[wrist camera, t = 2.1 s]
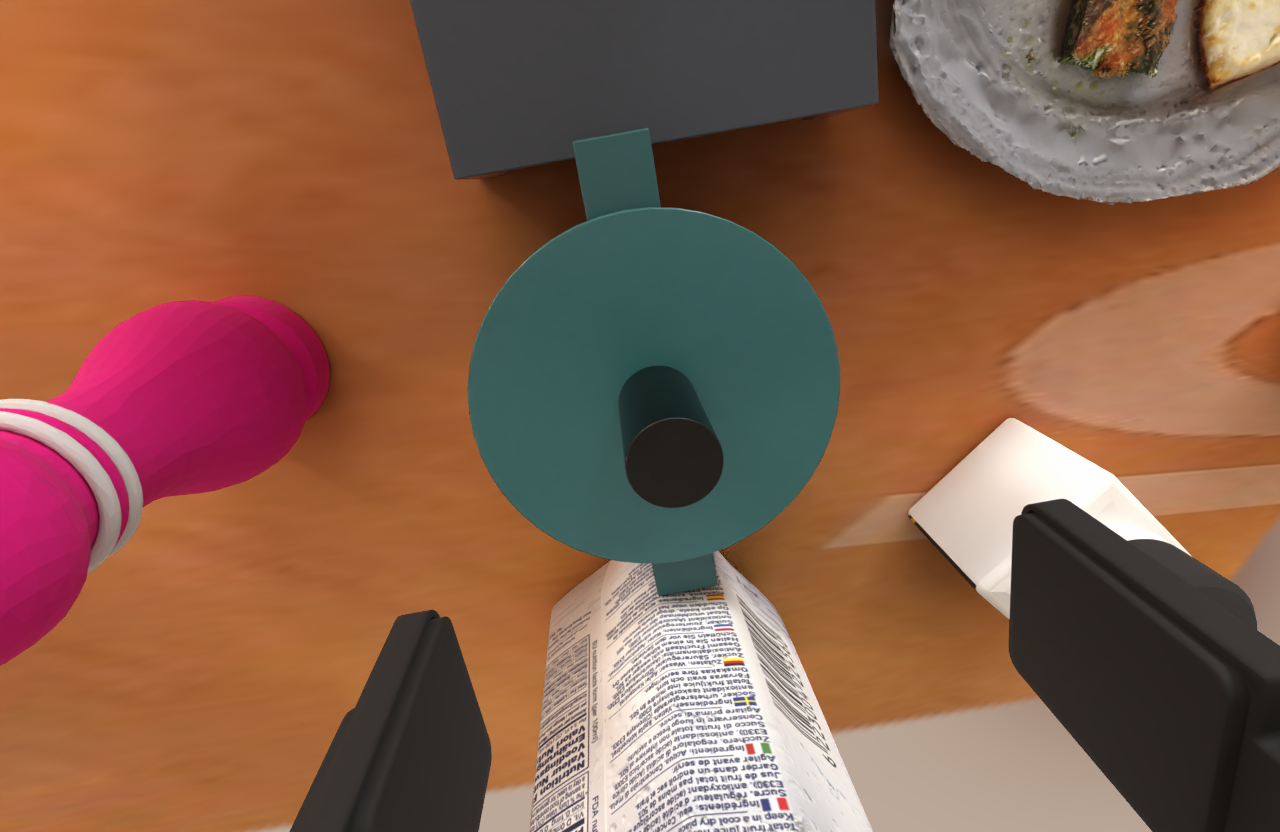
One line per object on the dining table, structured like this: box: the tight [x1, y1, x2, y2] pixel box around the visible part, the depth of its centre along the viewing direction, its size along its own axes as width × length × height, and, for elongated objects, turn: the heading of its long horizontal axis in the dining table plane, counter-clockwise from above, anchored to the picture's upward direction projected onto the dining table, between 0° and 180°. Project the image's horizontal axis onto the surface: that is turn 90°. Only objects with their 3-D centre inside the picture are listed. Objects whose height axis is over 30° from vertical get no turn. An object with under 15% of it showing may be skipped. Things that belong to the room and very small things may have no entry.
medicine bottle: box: [908, 418, 1257, 630], centre depth 29 cm, size 7×7×12 cm
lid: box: [468, 207, 840, 563], centre depth 20 cm, size 12×12×6 cm
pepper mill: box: [0, 296, 330, 666], centre depth 20 cm, size 7×7×20 cm
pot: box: [572, 128, 717, 596], centre depth 26 cm, size 11×17×8 cm
